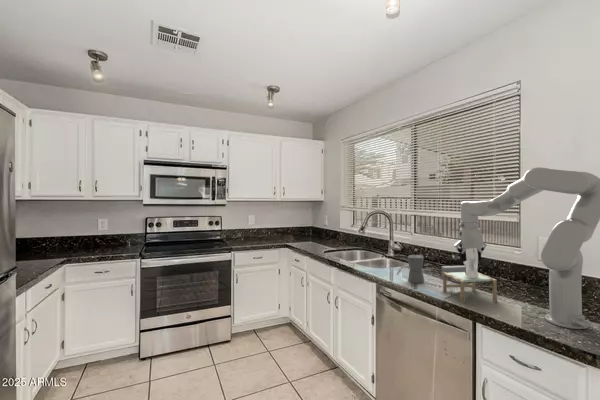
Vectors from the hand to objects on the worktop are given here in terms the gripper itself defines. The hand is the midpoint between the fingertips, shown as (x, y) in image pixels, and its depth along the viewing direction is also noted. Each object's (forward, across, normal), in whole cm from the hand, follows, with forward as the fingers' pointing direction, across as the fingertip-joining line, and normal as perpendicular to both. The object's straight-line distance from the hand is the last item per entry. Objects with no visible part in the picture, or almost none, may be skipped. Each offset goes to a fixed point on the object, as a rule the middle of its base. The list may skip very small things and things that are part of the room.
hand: (470, 260), depth 145 cm
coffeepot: (+19, -14, +31) cm, 39 cm away
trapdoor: (+11, 0, +5) cm, 12 cm away
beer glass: (+8, 0, 0) cm, 8 cm away
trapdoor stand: (+19, 0, +2) cm, 19 cm away
